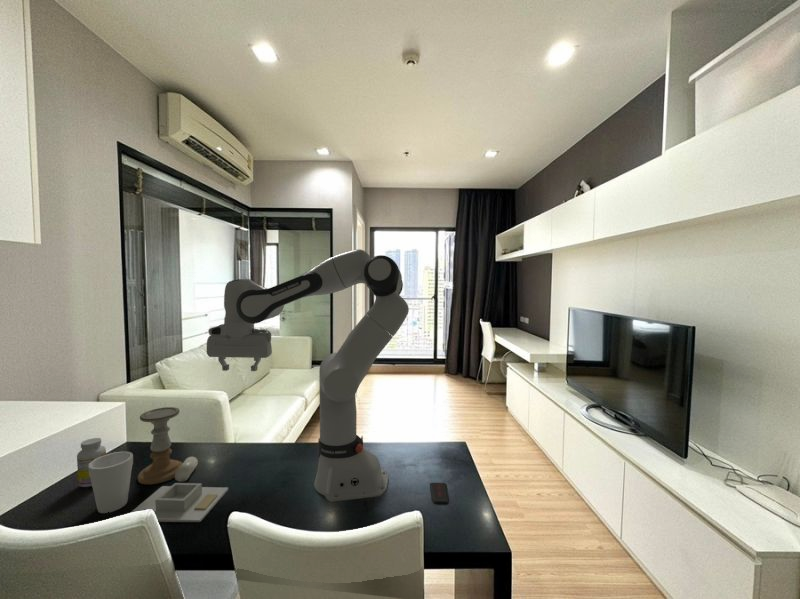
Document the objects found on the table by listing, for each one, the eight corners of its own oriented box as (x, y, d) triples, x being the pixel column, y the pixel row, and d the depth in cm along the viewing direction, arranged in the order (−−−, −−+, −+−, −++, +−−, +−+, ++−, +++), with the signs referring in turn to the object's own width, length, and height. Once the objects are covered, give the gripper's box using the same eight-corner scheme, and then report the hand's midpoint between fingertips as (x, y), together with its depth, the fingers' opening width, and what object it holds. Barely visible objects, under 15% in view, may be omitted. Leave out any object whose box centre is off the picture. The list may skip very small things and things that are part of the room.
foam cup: (108, 519, 90) (107, 471, 89) (80, 514, 91) (78, 466, 91) (142, 497, 99) (141, 453, 98) (116, 493, 101) (115, 449, 100)
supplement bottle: (102, 473, 111) (100, 434, 110) (110, 479, 107) (109, 439, 107) (74, 483, 105) (72, 442, 104) (82, 490, 102) (81, 448, 101)
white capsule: (185, 483, 107) (195, 468, 115) (191, 471, 107) (200, 457, 116) (172, 479, 106) (183, 465, 114) (178, 467, 106) (188, 454, 115)
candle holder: (192, 469, 114) (191, 409, 113) (152, 489, 103) (151, 423, 102) (169, 460, 119) (168, 403, 118) (129, 479, 108) (127, 416, 107)
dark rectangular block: (446, 489, 105) (446, 480, 105) (451, 516, 93) (451, 506, 93) (429, 489, 105) (429, 480, 105) (432, 515, 93) (432, 506, 93)
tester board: (228, 490, 102) (228, 477, 102) (200, 523, 88) (199, 508, 88) (162, 489, 103) (162, 476, 102) (123, 521, 89) (123, 506, 88)
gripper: (274, 327, 115) (275, 368, 116) (214, 326, 115) (215, 367, 116) (267, 330, 109) (267, 373, 109) (203, 329, 109) (203, 372, 110)
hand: (239, 370), depth 113 cm, fingers open, 8 cm apart
